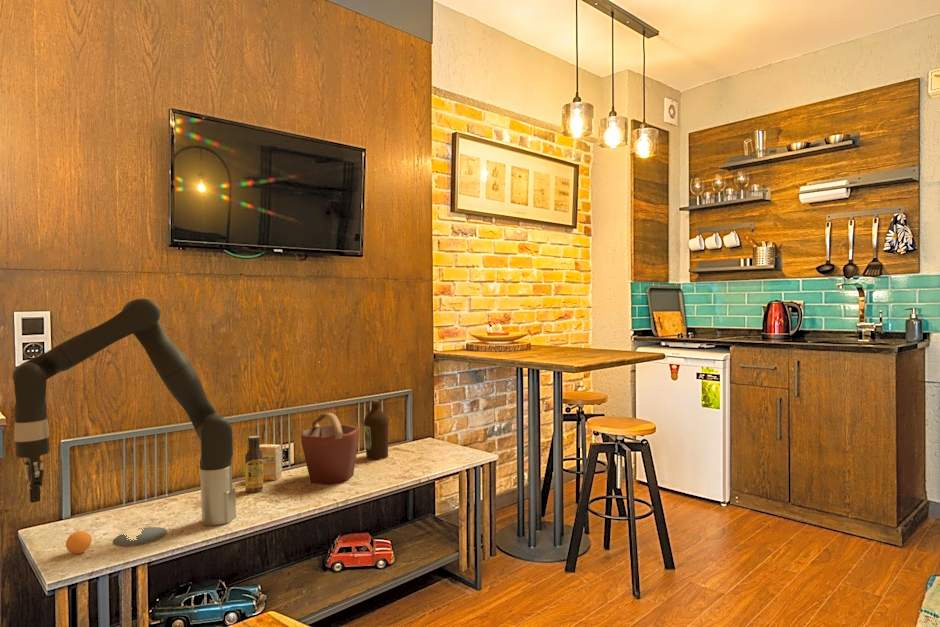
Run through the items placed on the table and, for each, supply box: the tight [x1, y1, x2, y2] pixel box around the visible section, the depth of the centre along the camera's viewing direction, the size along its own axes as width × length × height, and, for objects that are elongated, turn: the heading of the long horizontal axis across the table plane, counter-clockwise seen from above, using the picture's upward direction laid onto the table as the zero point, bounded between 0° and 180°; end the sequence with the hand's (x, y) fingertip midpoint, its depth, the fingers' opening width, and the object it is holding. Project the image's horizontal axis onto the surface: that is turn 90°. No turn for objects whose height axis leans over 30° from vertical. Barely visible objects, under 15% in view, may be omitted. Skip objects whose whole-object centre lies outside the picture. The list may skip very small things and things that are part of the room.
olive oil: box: [363, 399, 389, 461], centre depth 263 cm, size 11×11×25 cm
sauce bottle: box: [244, 435, 264, 493], centre depth 220 cm, size 7×6×20 cm
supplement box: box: [259, 443, 283, 481], centre depth 235 cm, size 8×5×13 cm, turn 81°
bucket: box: [300, 412, 360, 486], centre depth 234 cm, size 24×22×25 cm
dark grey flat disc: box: [112, 526, 168, 547], centre depth 179 cm, size 14×14×1 cm
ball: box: [65, 530, 92, 555], centre depth 168 cm, size 6×6×6 cm
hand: (35, 501), depth 162 cm, fingers closed
